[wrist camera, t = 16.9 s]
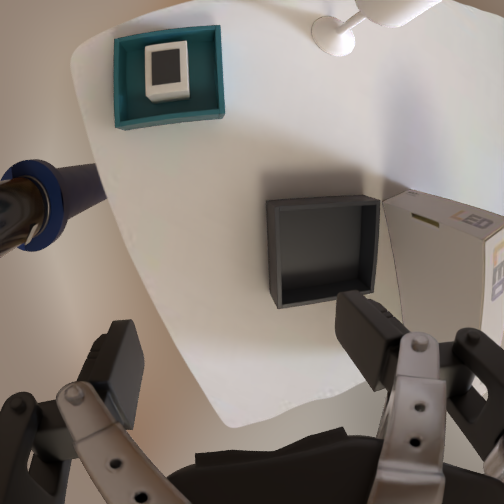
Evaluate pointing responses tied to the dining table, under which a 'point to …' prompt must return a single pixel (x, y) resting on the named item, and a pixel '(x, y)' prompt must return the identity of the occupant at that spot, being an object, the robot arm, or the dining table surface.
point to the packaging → (447, 266)
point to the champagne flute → (372, 7)
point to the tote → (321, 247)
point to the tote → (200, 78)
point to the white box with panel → (167, 72)
